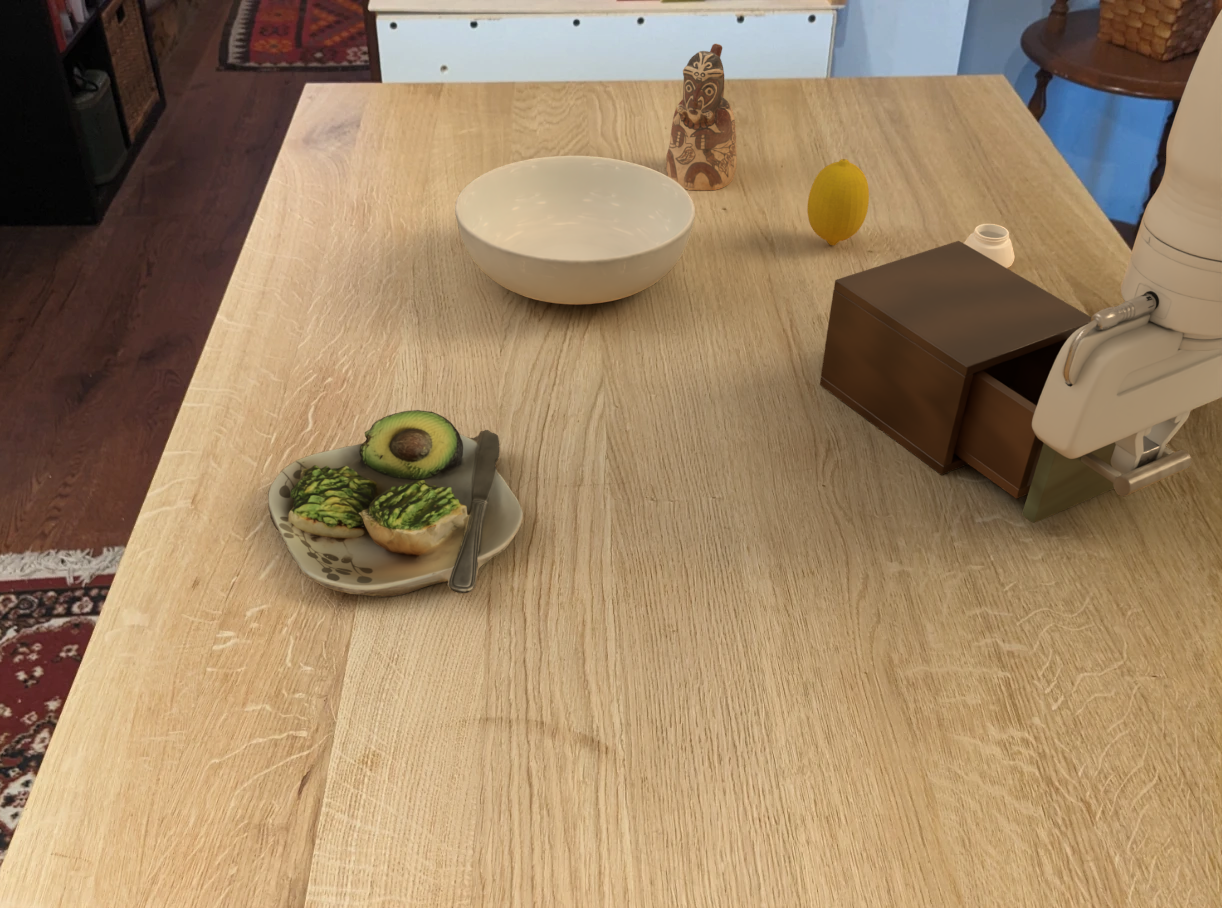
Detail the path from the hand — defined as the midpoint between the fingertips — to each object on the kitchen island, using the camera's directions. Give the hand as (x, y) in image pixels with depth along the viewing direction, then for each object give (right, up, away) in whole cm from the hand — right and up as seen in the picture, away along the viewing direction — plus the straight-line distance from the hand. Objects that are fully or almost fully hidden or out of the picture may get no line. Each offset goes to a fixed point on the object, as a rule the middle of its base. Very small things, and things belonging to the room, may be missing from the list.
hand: (1133, 465), depth 87 cm
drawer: (-4, +1, +7) cm, 8 cm away
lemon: (-14, +27, +33) cm, 46 cm away
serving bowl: (-39, +23, +29) cm, 53 cm away
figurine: (-26, +38, +44) cm, 64 cm away
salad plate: (-51, -3, +4) cm, 51 cm away
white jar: (-1, +25, +31) cm, 40 cm away
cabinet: (-9, +8, +14) cm, 19 cm away
